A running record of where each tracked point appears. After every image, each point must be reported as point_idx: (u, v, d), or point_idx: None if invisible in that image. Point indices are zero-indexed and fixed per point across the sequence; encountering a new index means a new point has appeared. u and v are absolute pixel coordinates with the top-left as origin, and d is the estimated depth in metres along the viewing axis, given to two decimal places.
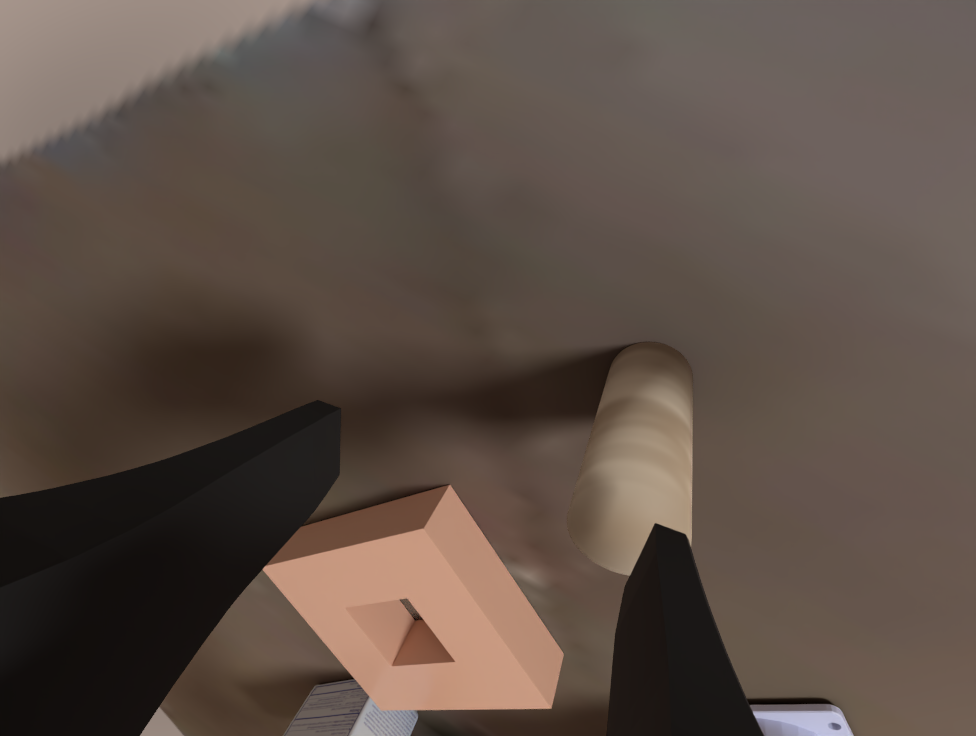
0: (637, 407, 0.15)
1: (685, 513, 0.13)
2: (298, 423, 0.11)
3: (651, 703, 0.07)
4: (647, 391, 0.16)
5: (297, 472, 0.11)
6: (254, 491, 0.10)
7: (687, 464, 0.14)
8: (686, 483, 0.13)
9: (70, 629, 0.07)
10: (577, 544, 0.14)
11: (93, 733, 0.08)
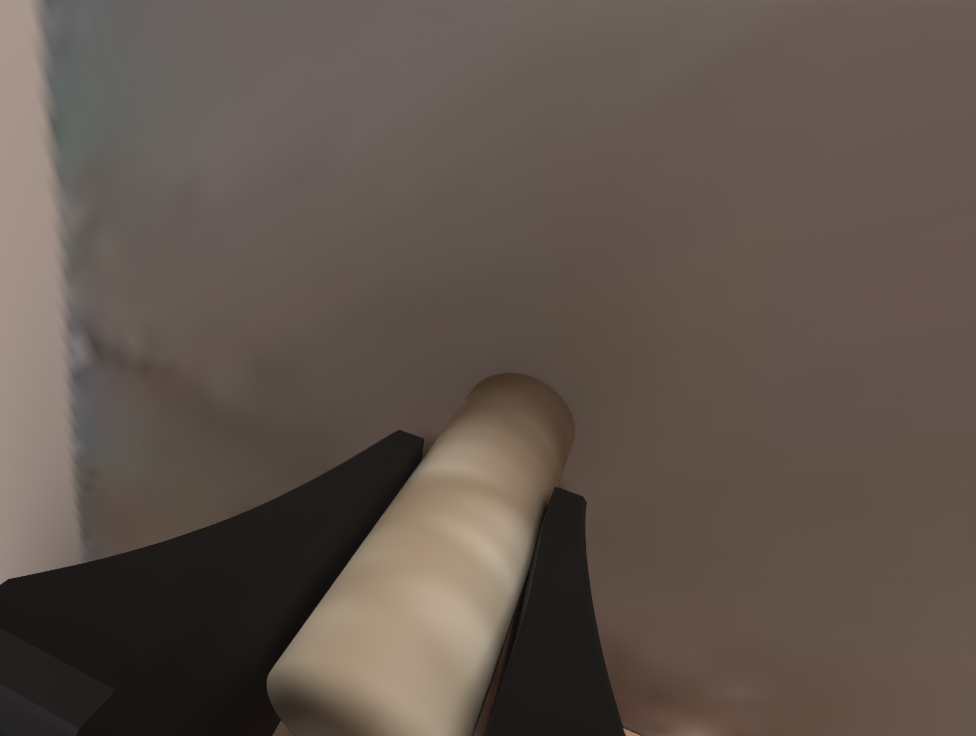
0: None
1: (364, 660, 0.07)
2: (388, 457, 0.10)
3: (514, 644, 0.08)
4: (416, 468, 0.11)
5: (385, 507, 0.10)
6: (351, 531, 0.09)
7: (431, 549, 0.08)
8: (402, 592, 0.08)
9: (201, 697, 0.06)
10: None
11: None
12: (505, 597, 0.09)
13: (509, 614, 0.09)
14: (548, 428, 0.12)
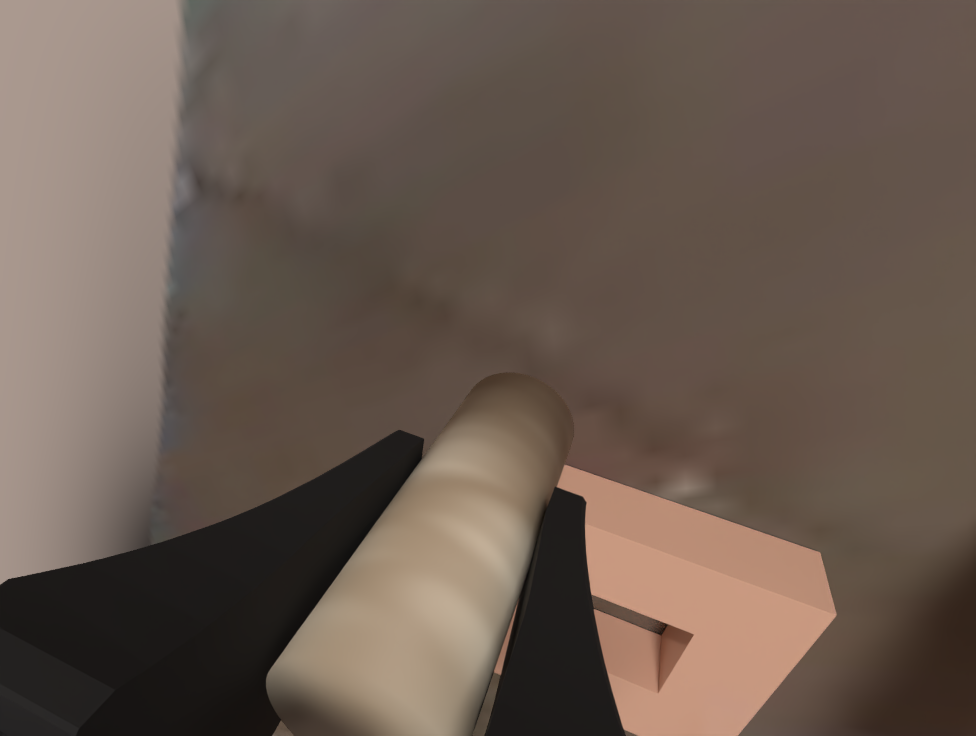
0: None
1: (363, 659, 0.07)
2: (388, 457, 0.10)
3: (514, 644, 0.08)
4: (416, 468, 0.11)
5: (385, 507, 0.10)
6: (351, 531, 0.09)
7: (431, 548, 0.08)
8: (401, 591, 0.08)
9: (201, 697, 0.06)
10: None
11: None
12: (504, 596, 0.09)
13: (508, 613, 0.09)
14: (547, 427, 0.12)
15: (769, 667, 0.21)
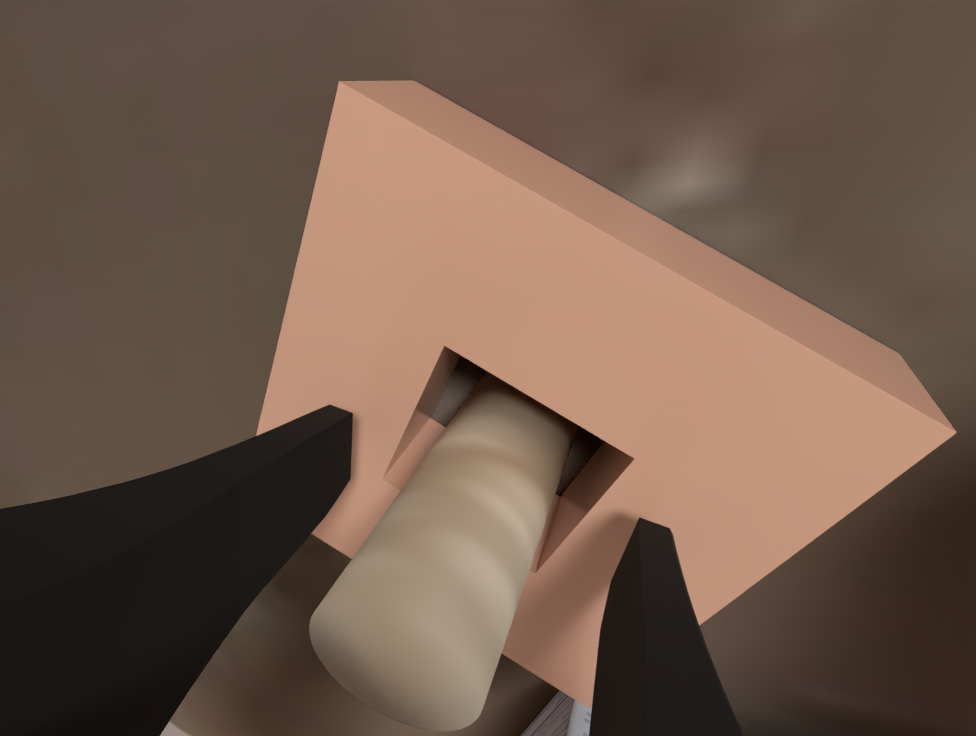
0: (413, 473, 0.11)
1: (401, 598, 0.08)
2: (311, 428, 0.11)
3: (630, 694, 0.08)
4: (437, 441, 0.12)
5: (310, 477, 0.11)
6: (268, 497, 0.10)
7: (455, 507, 0.09)
8: (430, 543, 0.09)
9: (89, 639, 0.07)
10: (392, 717, 0.09)
11: None
12: (522, 553, 0.10)
13: (525, 569, 0.10)
14: None
15: (757, 541, 0.11)
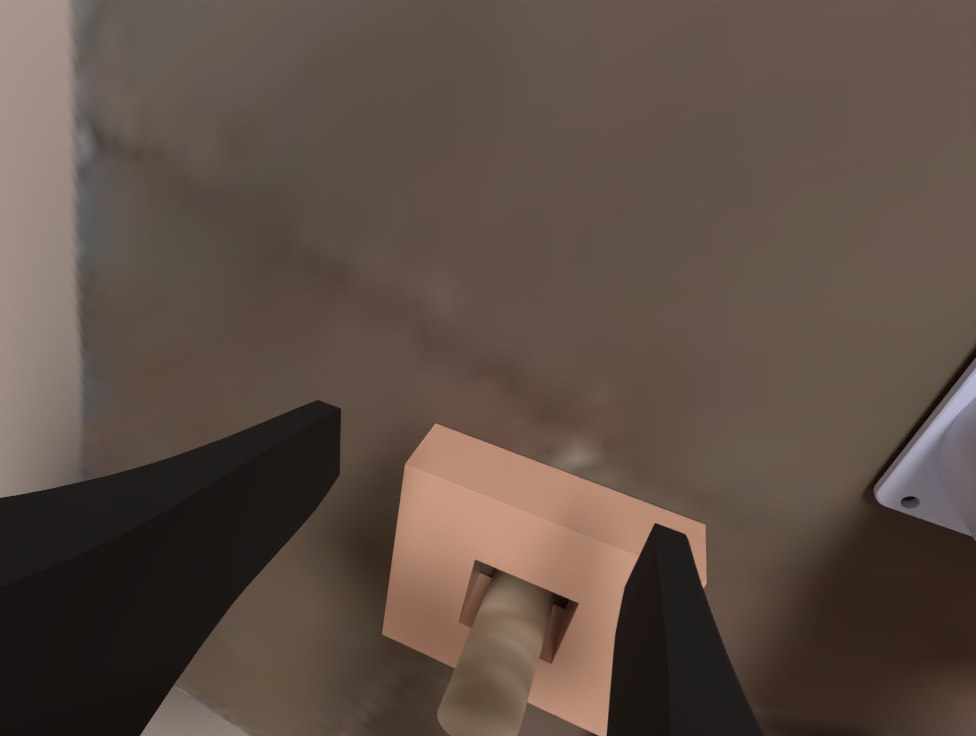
0: None
1: (472, 699, 0.19)
2: (298, 423, 0.11)
3: (651, 703, 0.07)
4: (481, 605, 0.23)
5: (297, 472, 0.11)
6: (254, 491, 0.10)
7: (491, 649, 0.20)
8: (481, 670, 0.20)
9: (70, 629, 0.07)
10: None
11: (93, 733, 0.08)
12: (526, 665, 0.20)
13: (530, 672, 0.20)
14: None
15: None
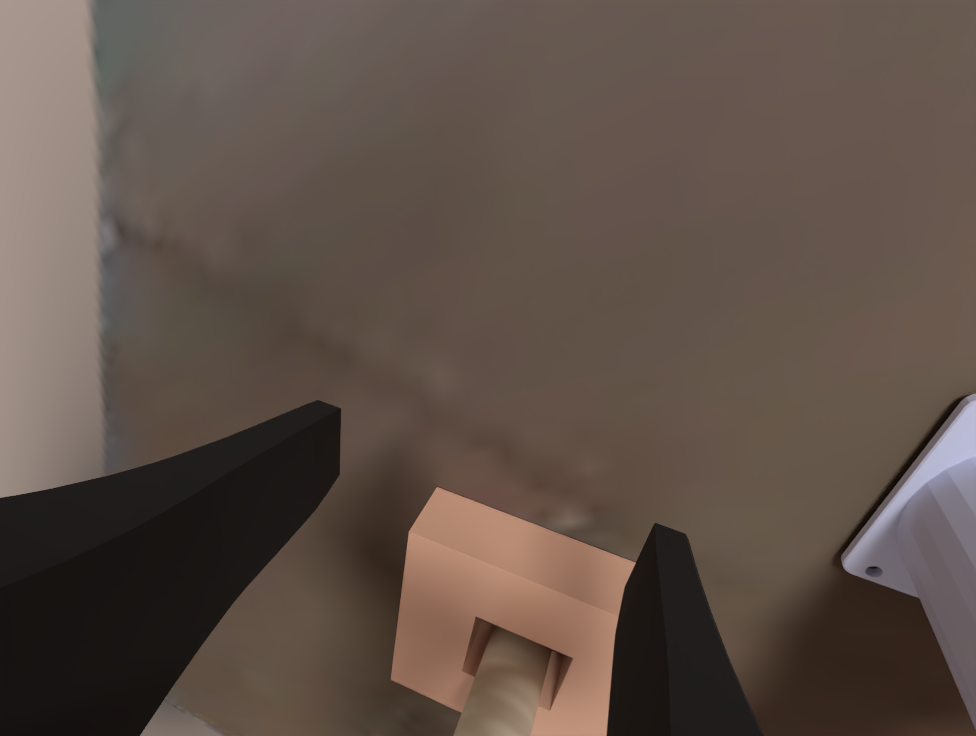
0: None
1: None
2: (298, 423, 0.11)
3: (651, 703, 0.07)
4: (482, 659, 0.25)
5: (297, 472, 0.11)
6: (254, 491, 0.10)
7: (491, 705, 0.22)
8: (482, 727, 0.21)
9: (70, 629, 0.07)
10: None
11: (93, 733, 0.08)
12: (524, 719, 0.22)
13: (528, 726, 0.22)
14: None
15: None
